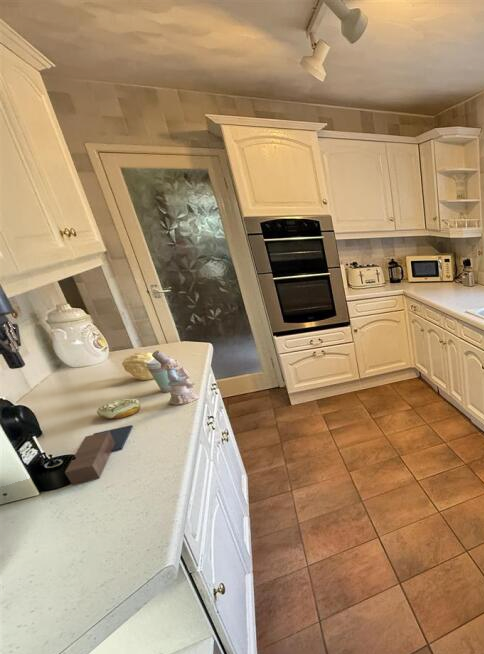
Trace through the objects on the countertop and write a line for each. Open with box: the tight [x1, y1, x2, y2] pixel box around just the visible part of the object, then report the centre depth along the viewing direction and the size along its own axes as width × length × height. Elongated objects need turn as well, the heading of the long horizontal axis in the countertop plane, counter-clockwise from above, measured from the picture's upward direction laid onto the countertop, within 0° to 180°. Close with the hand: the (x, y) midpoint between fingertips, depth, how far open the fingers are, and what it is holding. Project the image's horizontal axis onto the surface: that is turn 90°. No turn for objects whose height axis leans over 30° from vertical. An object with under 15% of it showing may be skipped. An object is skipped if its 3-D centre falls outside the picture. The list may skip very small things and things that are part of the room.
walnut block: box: [64, 431, 115, 486], centre depth 105 cm, size 4×5×19 cm
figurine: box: [152, 350, 199, 406], centre depth 137 cm, size 9×8×20 cm
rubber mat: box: [92, 424, 133, 453], centre depth 116 cm, size 16×9×1 cm, turn 33°
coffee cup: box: [146, 358, 178, 393], centre depth 149 cm, size 9×8×12 cm
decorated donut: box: [96, 398, 141, 420], centre depth 132 cm, size 10×11×4 cm
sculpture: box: [121, 351, 155, 381], centre depth 161 cm, size 11×12×11 cm
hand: (18, 367), depth 94 cm, fingers closed
